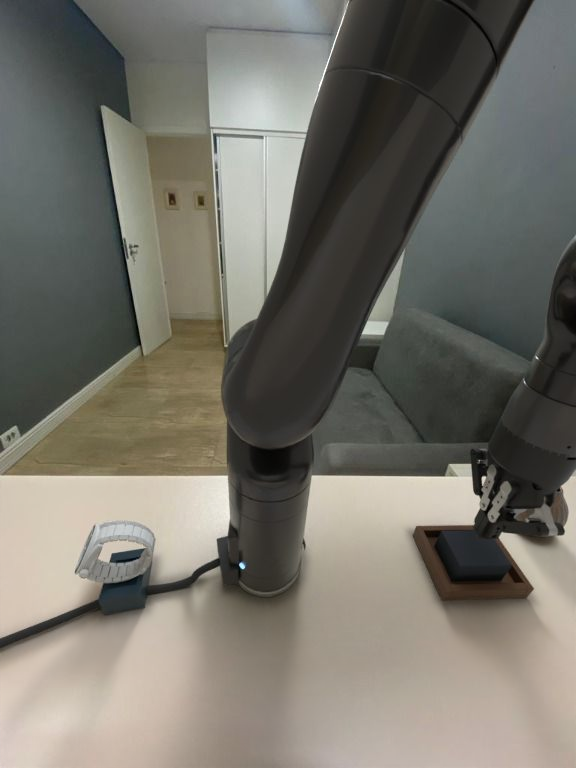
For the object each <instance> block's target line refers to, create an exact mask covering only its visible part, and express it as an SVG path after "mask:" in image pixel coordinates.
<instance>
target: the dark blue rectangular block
mask: <svg viewBox="0 0 576 768" xmlns="http://www.w3.org/2000/svg"><path fill="white" fill-rule="evenodd" d="M434 546H435V548H436V550H437V552H438V554H439V557H440V559H441V561H442V563H443V565H444V567H445V569H446V571H447V573H448V575H449V577H450V579H451V581H493V580H502V579H503V578H504V576H505V575H506V573H507V572H508V571H509V569H510V568H511V566H512V564H511V563H510V561H509V560H508V558H507V557H506V555H505V554H504V553H503V551H502V550H501V548H500V547H499V545H498V544H497V542H496V541H495V539H485V538H480V537H479V536H478V534H477V533H476V531H475V530H471V531H441V533H440V535H439V537H438V539H437V541H436V543H435V545H434Z"/></svg>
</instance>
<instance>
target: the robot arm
mask: <svg viewBox="0 0 576 768" xmlns="http://www.w3.org/2000/svg"><path fill="white" fill-rule="evenodd" d="M536 1H537V0H348V2H347V5H346V7H345V11H344V14H343V16H342V19H341V22H340V26H339V29H338V31H337V34H336V37H335V40H334V43H333V46H332V49H331V52H330V54H329V58H328V60H327V64H326V67H325V69H324V72H323V76H322V79H321V81H320V84H319V87H318V91H317V94H316V98H315V100H314V104H313V108H312V111H311V114H310V119H309V122H308V126H307V129H306V133H305V137H304V138H305V139H304V142H303V147H302V151H301V155H300V160H299V165H298V168H297V173H296V179H295V183H294V188H293V194H292V200H291V205H290V212H289V216H288V223H287V228H286V232H285V239H284V242H283V247H282V251H281V255H280V259H279V262H278V265H277V269H276V272H275V275H274V277H273V280H272V282H271V285H270V287H269V290H268V292H267V295H266V298H265V299H264V302H263V304H262V306H261V308H260V310H259V313H258V315H257V317H256V318H254V319H252V320H249V321H247V322H245V323H244V324H243V325H242V326H240V327H239V328H238V329H237V330H236V331H235V333H234V334H233V335H232V336H231V338H230V340H229V341H228V344H227V345H226V349H225V352H224V355H223V357H224V358H223V364H222V365H223V366H222V374H221V380H220V399H221V400H220V401H221V404H222V409H223V412H224V415H225V418H226V469H227V470H226V471H227V488H228V507H229V521H228V530H227V535H225V536H222V537H218V538H216V548H217V549H216V550H217V555H218V556H217V558H216V559H213V560H211V561H209V562H207V563H205V564H203V565H201V566H199V567H198V568H196V569H195V570H194V571H193V572H192V574H191V575H190V576H188V577H186V578H183V579H179V580H176V581H172V582H166V583H159V584H149V586H147V587H146V594H147V595H153V594H163V593H169V592H173V591H178V590H181V589H184V588H187V587H188V586H191V585H193V584H194V583H196V582H197V581H198V580H199V578H200V576H202V575H204V574H206V573H208V572H210V571H212V570H214V569H216V568H219V569H220V575H221V582H222V586H227V585H230V584H231V585H237V586H240V588H242V589H243V590H244V591H245V592H247V593H248V594H250V595H253V596H254V597H260V598H261V597H262V598H271V597H275V596H278V595H280V594H282V593H285V592H286V591H287V590H288V589H290V588H291V587H292V586H293V584H294V583H295V582H296V580H297V578H298V577H299V574H300V571H301V567H302V555H303V554H302V553H303V550H304V551H306V547H307V544H306V541H305V530H306V523H307V514H308V507H309V499H310V491H311V485H312V478H313V471H314V470H313V469H314V463H315V462H314V461H315V452H314V450H315V449H314V441H313V440H314V439H313V433H314V431H315V430H317V428H319V427H320V425H321V424H322V423H323V422H324V420H325V419H326V417H327V416H328V414H329V413H330V411H331V409H332V407H333V404H334V402H335V400H336V398H337V395H338V393H339V391H340V388H341V386H342V385H343V384H342V383H343V381H344V379H345V376H346V374H347V371H348V369H349V366H350V363H351V361H352V359H353V357H354V354H355V352H356V349H357V347H358V344H359V343H360V340H361V337H362V334H363V332H364V330H365V327H366V325H367V323H368V321H369V318H370V317H371V313H372V312H373V310H374V308H375V306H376V304H377V301H378V299H379V297H380V296H381V294H382V292H383V290H384V288H385V287H386V284H387V282H388V280H389V278H390V276H391V275H392V274H393V272H394V270H395V268H396V266H397V264H398V262H399V260H400V259H401V257H402V255H403V253H404V251H405V249H406V247H407V245H408V244H409V242H410V239H411V238H412V236H413V234H414V232H415V230H416V229H417V227H418V224H419V223H420V220H421V219H422V216H423V214H424V213H425V211H426V210H427V207H428V206H429V203H430V201H431V199H432V198H433V196H434V194H435V192H436V190H437V189H438V186H439V185H440V183H441V182H442V179H443V178H444V176H445V175H446V172H447V171H448V169H449V167H450V166H451V164H452V162H453V161H454V159H455V157H456V156H457V154H458V152H459V150H460V149H461V146H462V145H463V143H464V140H465V139H466V137H467V135H468V133H469V131H470V130H471V128H472V126H473V124H474V122H475V120H476V119H477V116H478V114H479V113H480V111H481V110H482V107H483V106H484V103H485V101H486V100H487V98H488V96H489V94H490V92H491V91H492V88H493V87H494V84H495V83H496V81H497V79H498V77H499V75H500V73H501V71H502V69H503V67H504V65H505V63H506V61H507V59H508V57H509V55H510V53H511V51H512V48H513V46H514V45H515V43H516V40H517V38H518V36H519V34H520V32H521V30H522V28H523V26H524V24H525V22H526V20H527V18H528V16H529V14H530V12H531V10H532V8H533V7H534V4H535V2H536ZM469 454H470V467H471V479H472V481H471V482H472V492H473V494H474V495H475V496H476V497H477V496H478V497H479V499H480V500H479V510H478V511H477V514H476V515H475V517H474V521H473V523H474V524H473V525H474V526H473V528H474V530H475V531H476V533H477V534H478V536H479V537H480V538H485V539H497V538H499V539H500V536H501V535H502V533H504V534H513V535H523V536H533V537H538V536H548V537H556V536H557V537H559V536H560V537H561V536H564V535H565V533H566V531H565V526H564V527H563V526H562V525H561V524H560V523H557V522H554V520H553V517H552V514H551V511H550V507H551V506H553V505H554V503H555V494H556V491H557V489H558V488H559V487H563V485H565V484H566V483H567V482H568V481H569V480H570V478H571V477H572V476H573V474H574V473H575V471H576V233H575V234H574V235H573V237H572V238H571V239H570V241H568V243H567V245H566V246H565V248H564V249H563V251H562V253H561V255H560V257H559V259H558V261H557V264H556V267H555V270H554V273H553V277H552V281H551V286H550V291H549V297H548V302H547V306H546V311H545V318H544V327H543V335H542V339H541V342H540V344H539V346H538V347H537V349H536V351H535V353H534V355H533V357H532V359H531V360H530V363H529V365H528V366H527V369H526V371H525V374H524V375H523V377H522V379H521V381H520V382H519V384H518V385H517V387H516V388H515V390H513V392H512V394H511V396H510V398H509V399H508V402H507V404H506V406H505V408H504V410H503V412H502V414H501V416H500V418H499V420H498V422H497V424H496V427H495V428H494V431H493V433H492V435H491V436H490V439H489V441H488V444H487V448H471V449H470V451H469ZM483 477H485V480H484V483H483ZM527 509H534V513H533V514H530V515H529V518H525V521H518V520H516V517H517V516H518V515H519V514H520V513H522V512H525V511H526V510H527ZM98 600H99V598H97V599H95V600H92V601H91V602H87V603H86V604H83V605H81V606H78V607H76V608H73V609H71V610H69V611H67V612H64V613H61V614H59V615H57V616H54V617H52V618H49V619H47V620H44V621H41V622H39V623H36V624H33V625H31V626H28V627H26V628H24V629H21V630H18V631H15V632H13V633H10V634H8V635H5V636H1V637H0V649H3V648H6V647H8V646H10V645H12V644H15V643H18V642H20V641H22V640H25V639H27V638H30V637H33V636H35V635H37V634H41V633H43V632H46V631H48V630H51V629H53V628H55V627H58V626H61V625H62V624H65V623H67V622H70V621H72V620H74V619H77V618H80V617H82V616H84V615H86V614H88V613H90V612H93V611H96V610H98V609H102V608H101V606H100V604H99V602H98Z"/></svg>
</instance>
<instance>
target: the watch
mask: <svg viewBox="0 0 576 768" xmlns="http://www.w3.org/2000/svg"><path fill="white" fill-rule="evenodd" d="M118 541H119V542H129V543H136V544H139V545H141V546H143V547H142V548H138V549H137V548H136V549H131V550H124V551H118V552H112V553H111V555H110V558H109V562H108V561H105V560H101V559H99V557H100V555H101V552H102V550H103V548H104V545H105V544H107V543H113V542H118ZM156 541H157V538H156V536H155V533H154V532H153V531H152V530H151V528H150V527H147V526H146V525H145V524H142V523H140V522H137V521H132V520H126V519H125V520H114V521H113V520H112V521H111V520H106V521H103V522H101V523H100V524H99V523H95V524H93V526H92V528H91V530H90V531H89V534H88V535H87V538H86V540H85V542H84V544H83V547H82V549H81V552H80V554H79V557H78V559H77V563H76V566H75V569H74V575H77V576H79V578H80V579H82V580H83V579H86V580H88V581H91V582H94V583H99V584H102V586H101V590H100V594H99V597H98V599H99V600H98V599H97V600H98V602H99V604H100V606H101V608H100V609H101V611H102V612H103V614H104V616H108V615H113V614H118V613H123V612H127V611H128V612H129V611H133V610H138V609H143V608H146V603H147V596H148V594H146V587H147V586H149V585H150V579H151V572H152V567H153V558H154V552H155V546H156Z"/></svg>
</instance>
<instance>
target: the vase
mask: <svg viewBox="0 0 576 768" xmlns="http://www.w3.org/2000/svg"><path fill="white" fill-rule="evenodd" d="M550 511H551V514H552V517H553V520H554V522H557V523H560V524H561V525H562V526H563V527H564V528H565V526H566V524H567V522H568V521H569V514H570V513H569V506H568V503H567V500H566V498H565V496H564V489H563V486H561V487H559V488H558V489H557V491H556V494H555V503H554V505H553V506H551V507H550ZM533 513H534V509H527V510H526V511H525V512H522V513H520V514H519V515H518V516H517V517H516V520H518V521H525V518H529V515H530V514H533ZM537 537H539V538H548V537H549V536H537Z"/></svg>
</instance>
